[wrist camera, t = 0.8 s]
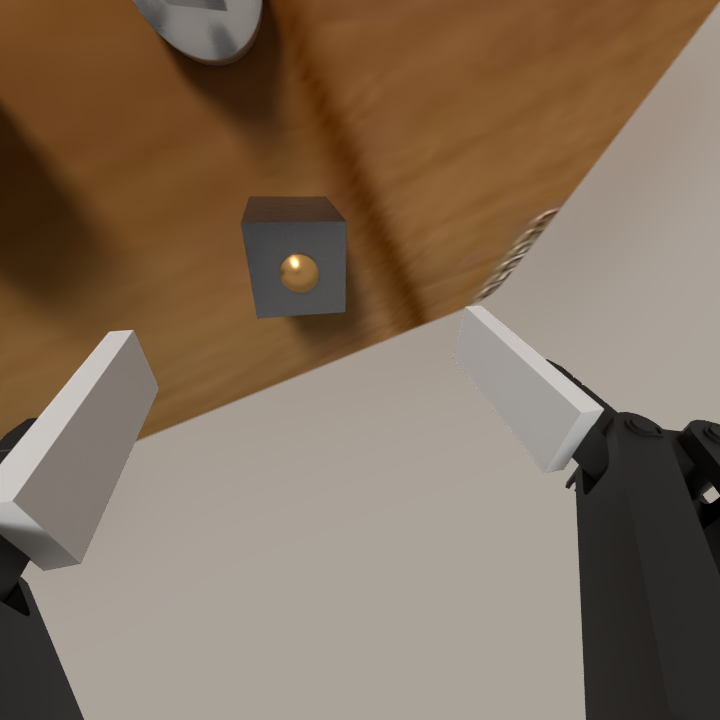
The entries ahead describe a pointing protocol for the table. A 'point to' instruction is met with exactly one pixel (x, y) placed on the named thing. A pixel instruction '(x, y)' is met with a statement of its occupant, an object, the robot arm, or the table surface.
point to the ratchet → (206, 27)
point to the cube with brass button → (295, 255)
